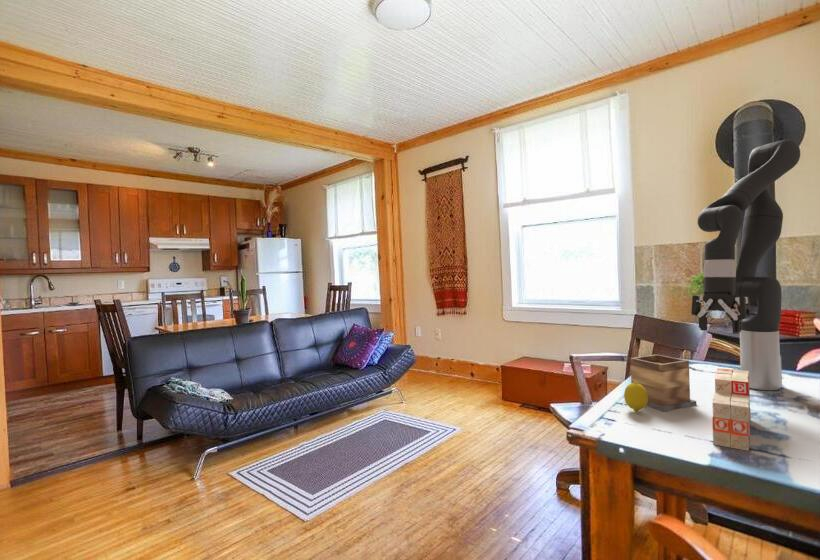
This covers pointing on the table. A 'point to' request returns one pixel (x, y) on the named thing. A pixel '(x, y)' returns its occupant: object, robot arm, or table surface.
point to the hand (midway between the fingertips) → (719, 331)
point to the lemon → (636, 396)
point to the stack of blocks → (731, 409)
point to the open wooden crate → (663, 381)
